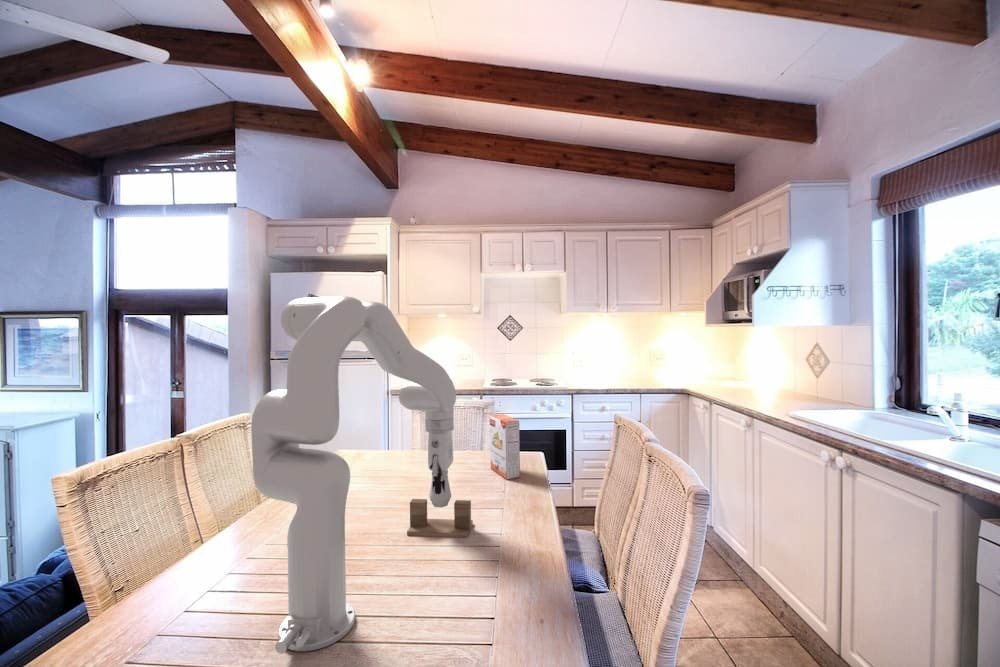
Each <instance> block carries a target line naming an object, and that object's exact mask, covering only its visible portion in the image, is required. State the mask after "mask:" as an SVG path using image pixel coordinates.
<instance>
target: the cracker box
mask: <svg viewBox="0 0 1000 667" xmlns="http://www.w3.org/2000/svg"><path fill="white" fill-rule="evenodd" d="M489 435H490V436H489V439H490V440H489V441H490V444H489V446H490V469H491V470H492V471H494V472H495V473H497V474H498V475H499V476H500V477H502V478H504V479H505V480H507V479H508V480H512V479H513V480H514V479H517V478H520V477H521V459H520V458H521V456H520V455H521V454H520V449H521V448H520V446H521V445H520V420H519V419H516V418H514V417H510V416H509V415H506V414H504V413H499V414H490V415H489ZM508 480H507V481H508Z"/></svg>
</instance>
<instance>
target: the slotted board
mask: <svg viewBox="0 0 1000 667" xmlns="http://www.w3.org/2000/svg"><path fill="white" fill-rule="evenodd" d="M453 504H454V506H453V507H454V508H453V514H454V518H453V519H447V518H442V519H441V518H428V499H426V498H412V499H411V501H409V528H408V529H407V530H406V535H407V536H414V535H417V536H419V537H440V536H446V537H447V538H469V535H470V532H471V529H472V527H473V524H474V522H473V519H472V501H471V500H466V499H465V500H464V499H463V500H462V499H456V500H455V501H454V503H453ZM417 536H416V537H417ZM446 537H445V538H446Z"/></svg>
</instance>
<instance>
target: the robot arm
mask: <svg viewBox="0 0 1000 667" xmlns="http://www.w3.org/2000/svg"><path fill="white" fill-rule="evenodd" d="M280 323H281V328H282V329H283V331H284V332H285V333H286V335H287V336H288V337H289V338H291V339H292V340H295V343H294V345H293V347H292V349H291V351H290V354H289V356H288V359H287V363H286V364H287V365H286V388H279V389H274V390H271V391H268V392H267V393H265V394H264V395H263V396H262V397H261V398H260V399H259V400H258V402H257V404H256V405H255V408H254V409H253V413H252V417H251V423H250V424H251V428H250V429H251V455H252V472H253V480H254V484H255V487H256V488H257V490H258V492H259V493H260V494H261V495H263V496H264V497H266V498H268V499H273V500H277V501H281V502H285V503H290V504H292V505H293V504H294V505H296V511H295V513H294V515H293V517H292V520H291V521H290V523H289V527H288V528H287V529H288V530H287V586H288V588H287V590H288V594H287V596H288V599H287V600H288V615H287V616H286V618H285V619H284V620H282V622H281V624H280V625H279V629H278V639H279V640H277V642H275V643H276V644H275V646H274V648H275V651H276V653H278V654H281V655H282V654H284V653H285V652H286V651H287V650H291V651H295V652H311V651H315V650H320V649H323V648H326V647H329V646H330V645H332V644H335V643H336V642H338V641H339V640H341V639H342V638H344V637H345V636H346V635H347V634H349V633H348V632H350V631H351V629H352V628H353V626H354V624H355V621H356V614H355V613H356V612H355V609H354V607H353V606H352V605H351V604H350V603H348V602H347V600H346V599H347V598H346V597H347V596H346V595H347V594H346V592H347V591H346V589H347V586H346V585H347V584H346V583H347V582H346V581H347V580H346V507H347V506H346V505H347V499H348V492H349V490H350V489H349V488H350V482H351V469H350V467H349V464H348V462H347V461H346V460H345V458H343V457H342V456H341V455H338V454H337V453H334V452H331V451H328V450H320V449H313V448H303V447H300V445H309V446H310V445H312V446H317V445H319V446H320V445H325V444H327V443H328V442H331V441H332V440H333V439H334V438H335V437H336V435H337V433H338V431H339V427H340V394H339V392H340V390H339V369H340V367H339V366H340V362H341V360H342V357H343V354H344V352H345V351H346V350H347V348H348V346H349V345H350V344H351V342H360V343H363V344H364V346H365V347H366V348H367V350H368V351H369V352H370V354H371V356H372V357H373V358H374V359H375V361H376V362H377V364H378V365H379V366H380V368H381V369H382V370H383V371H384V372H386V373H388V374H389V375H392V376H394V377H398V378H400V379H403V380H406V381H407V382H405V383H404V384H403V385H402V386H401V388H400V389H399V391H398V400H399V403H400V404H401V406H402V407H403V408H405V409H408V410H412V411H418V412H420V411H421V412H424V413H425V417H424V420H425V421H424V422H425V423H424V424H425V425H424V426H425V429H424V430H425V432H426V433H428V439H427V440H428V442H427V466H428V470H429V471H431V477H432V478H431V482H432V487H433V488H434V486H435V493H436V494H440V493H441V483H442V487H443V490H444V493H445V480H444V471H446V470H447V475H448V472H449V468H450V467H451V465H452V464H453V462H454V446H453V445H454V444H453V443H454V442H453V431H454V430H455V426H454V425H455V424H454V421H455V419H454V418H455V417H454V406H455V404H456V401H457V392H456V387H455V385H454V382H453V379H451V377H450V376H449V373H448V372H447V371H446V369H445V368H444V367H443V366H442V365H440V363H438V361H435V360H434V359H432V358H431V357H429V356H428V355H427V354H425V353H423V352H422V351H420V350H418V349H417V348H415V347H414V346H413V345H412V343H411V341H410V340H409V338H408V336H407V335H406V333H405V331H404V330H403V328H402V327H401V325H400V324H399V321H398V320H397V319H396V317H395V316H394V314H393V313H392V311H391V310H390V308H389V307H388V306H387V305H385V304H383V303H382V302H378V301H377V302H376V301H361V300H360V299H358V298H355V297H353V296H345V295H344V296H343V295H334V296H333V295H332V296H331V295H329V296H317V297H314V296H313V297H301V298H295V299H294V300H291V301H290V302H289V303H287V304H286V305H285V306H284V307H283V310H282V312H281V315H280ZM432 463H433V464H432ZM438 467H441V469H438ZM438 472H441V474H440V473H438ZM448 476H449V475H448Z"/></svg>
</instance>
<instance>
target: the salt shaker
mask: <svg viewBox="0 0 1000 667" xmlns="http://www.w3.org/2000/svg"><path fill="white" fill-rule="evenodd" d="M432 464H433V463H432ZM438 469H441V467H438ZM438 473H440V474H441V472H438ZM444 480H445V493H444V490H443V487H442V483H441V493H440V494H436V493H435V486H434V488H433V487H432V481H431V482H430V483H431V484H430V490H429V495H428V496H429V500H430V501H431V504H432V506H433V507H434V508H440V509H441V508H445V507H448V505H449V502H450V500H451V498H452V492H451V487H450V481H449V475H447V470H446V471H444Z"/></svg>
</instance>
